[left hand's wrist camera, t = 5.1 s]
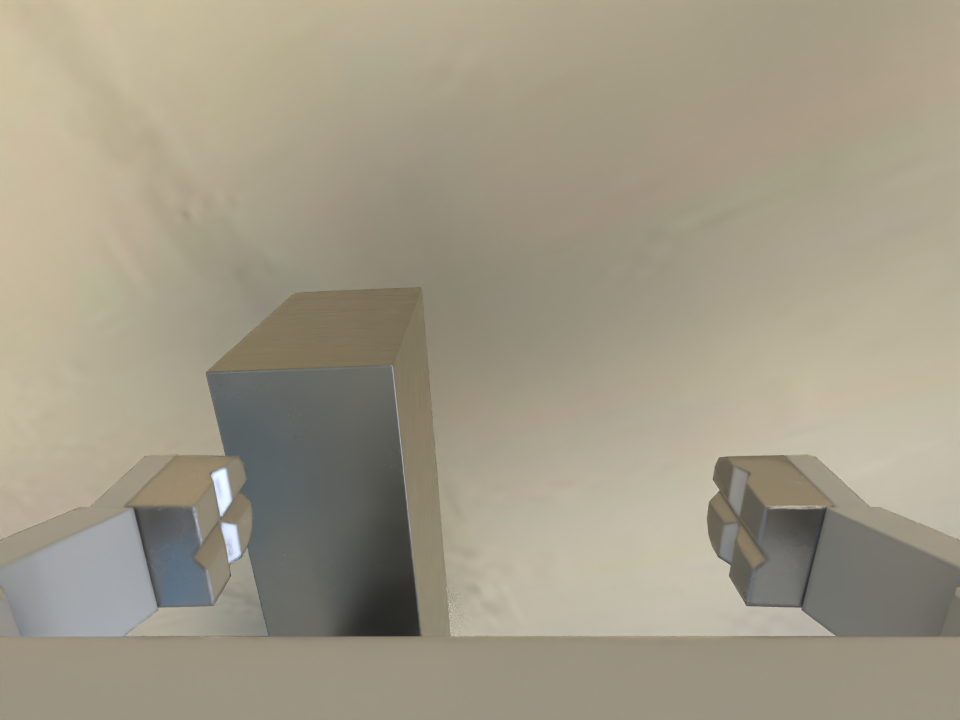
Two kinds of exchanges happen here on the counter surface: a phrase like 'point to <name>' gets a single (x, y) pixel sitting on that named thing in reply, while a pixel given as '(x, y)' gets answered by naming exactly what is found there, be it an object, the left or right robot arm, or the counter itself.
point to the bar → (338, 464)
